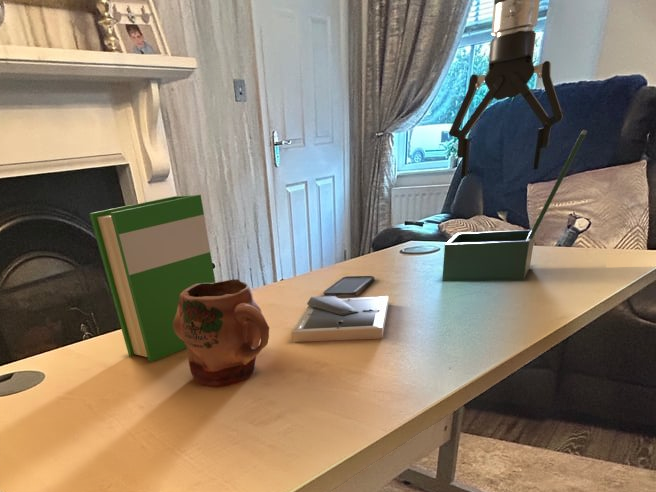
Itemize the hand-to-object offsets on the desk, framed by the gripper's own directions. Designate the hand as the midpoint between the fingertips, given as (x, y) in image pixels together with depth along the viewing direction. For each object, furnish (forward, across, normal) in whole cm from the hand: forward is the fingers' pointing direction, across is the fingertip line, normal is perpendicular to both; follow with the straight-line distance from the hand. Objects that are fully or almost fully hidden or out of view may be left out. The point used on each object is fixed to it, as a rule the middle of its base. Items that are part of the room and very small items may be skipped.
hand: (499, 172), depth 107 cm
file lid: (+3, +11, 0) cm, 11 cm away
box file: (+20, 0, 0) cm, 20 cm away
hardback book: (+19, -48, -53) cm, 74 cm away
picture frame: (+20, -20, -37) cm, 46 cm away
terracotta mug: (+19, -28, -66) cm, 74 cm away
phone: (+19, -28, -12) cm, 36 cm away
